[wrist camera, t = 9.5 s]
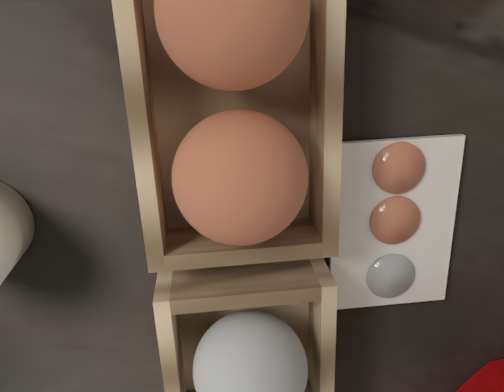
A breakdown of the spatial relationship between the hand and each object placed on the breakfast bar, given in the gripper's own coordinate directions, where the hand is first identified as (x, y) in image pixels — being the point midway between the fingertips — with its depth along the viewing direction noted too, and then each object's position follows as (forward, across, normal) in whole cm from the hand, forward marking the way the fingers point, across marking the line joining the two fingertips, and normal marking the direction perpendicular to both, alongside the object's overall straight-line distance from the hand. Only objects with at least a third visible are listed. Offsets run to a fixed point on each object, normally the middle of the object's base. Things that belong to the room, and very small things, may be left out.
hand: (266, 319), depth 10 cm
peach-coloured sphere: (+14, 0, +6) cm, 15 cm away
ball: (+14, 0, -1) cm, 14 cm away
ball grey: (+14, 0, -11) cm, 18 cm away
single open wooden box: (+14, 0, -11) cm, 18 cm away
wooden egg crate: (+14, 0, +3) cm, 15 cm away
